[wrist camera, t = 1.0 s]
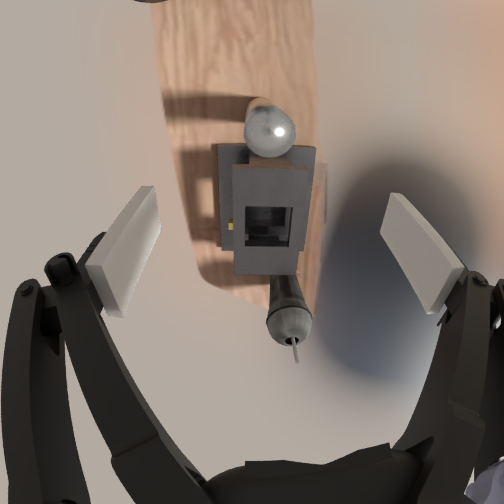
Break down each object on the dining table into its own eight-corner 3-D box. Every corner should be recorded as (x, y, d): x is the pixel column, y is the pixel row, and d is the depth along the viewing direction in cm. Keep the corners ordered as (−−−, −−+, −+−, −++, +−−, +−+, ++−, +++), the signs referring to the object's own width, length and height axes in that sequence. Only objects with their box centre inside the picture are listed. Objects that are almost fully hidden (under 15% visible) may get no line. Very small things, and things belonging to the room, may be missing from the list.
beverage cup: (260, 286, 53) (264, 378, 37) (267, 256, 49) (274, 351, 32) (296, 289, 54) (311, 379, 37) (306, 260, 49) (328, 353, 33)
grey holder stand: (218, 144, 37) (210, 160, 30) (314, 146, 37) (329, 163, 30) (222, 247, 47) (217, 279, 41) (302, 247, 48) (310, 279, 41)
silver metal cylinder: (246, 97, 33) (244, 108, 18) (275, 97, 33) (297, 110, 18) (246, 125, 36) (243, 159, 21) (274, 126, 36) (293, 160, 21)
